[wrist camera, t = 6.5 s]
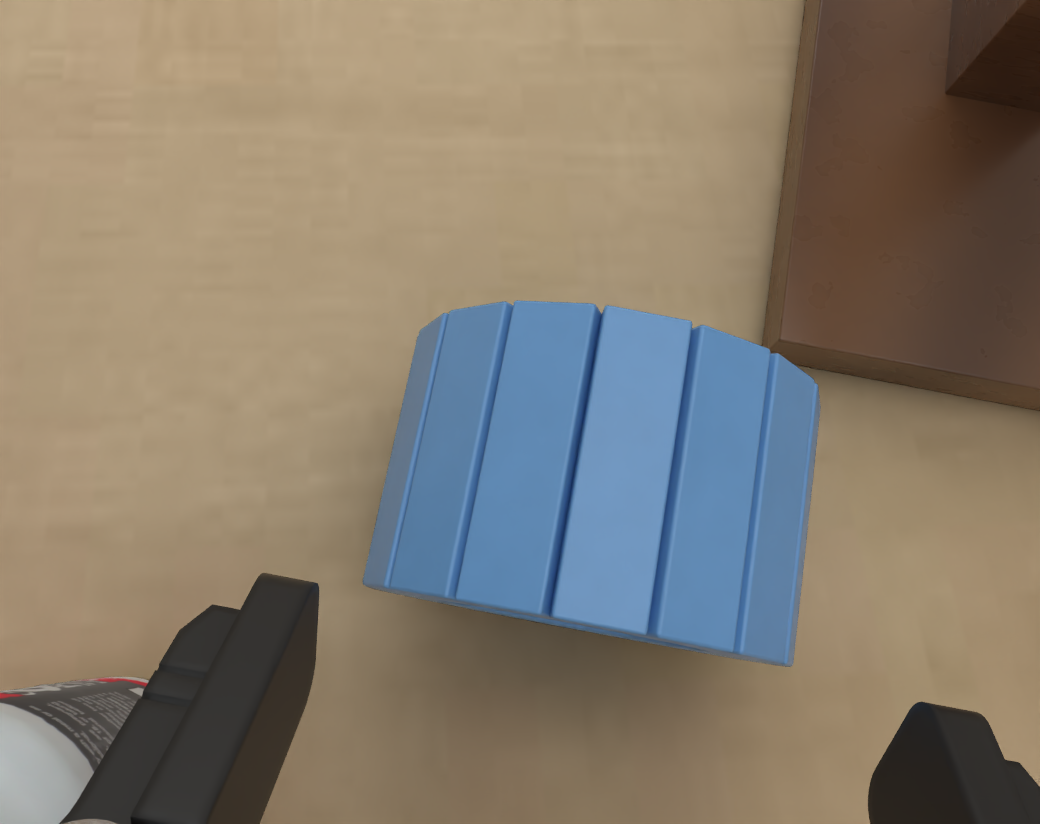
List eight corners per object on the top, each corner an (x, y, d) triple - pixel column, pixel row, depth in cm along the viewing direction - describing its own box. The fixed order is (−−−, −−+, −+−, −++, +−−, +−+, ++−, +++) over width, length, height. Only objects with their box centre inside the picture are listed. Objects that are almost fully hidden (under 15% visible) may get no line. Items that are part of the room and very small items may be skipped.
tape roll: (387, 593, 21) (330, 575, 13) (431, 392, 22) (403, 265, 14) (723, 658, 21) (868, 677, 13) (749, 452, 22) (896, 358, 14)
